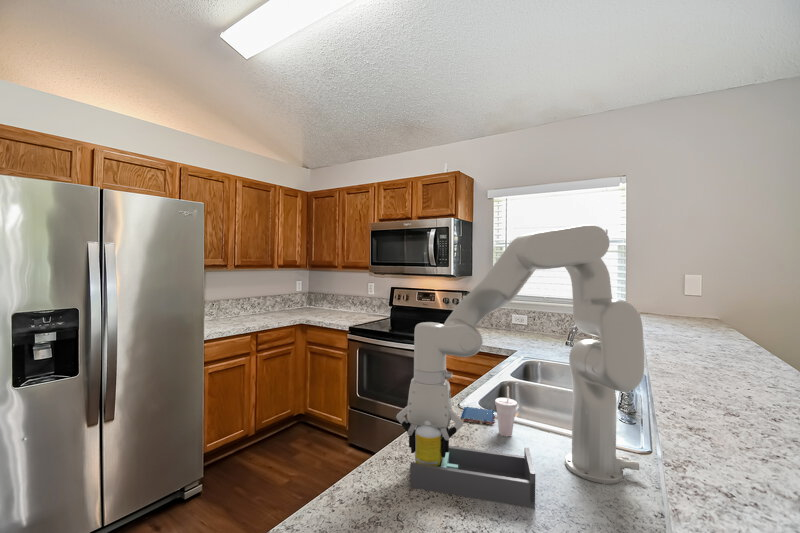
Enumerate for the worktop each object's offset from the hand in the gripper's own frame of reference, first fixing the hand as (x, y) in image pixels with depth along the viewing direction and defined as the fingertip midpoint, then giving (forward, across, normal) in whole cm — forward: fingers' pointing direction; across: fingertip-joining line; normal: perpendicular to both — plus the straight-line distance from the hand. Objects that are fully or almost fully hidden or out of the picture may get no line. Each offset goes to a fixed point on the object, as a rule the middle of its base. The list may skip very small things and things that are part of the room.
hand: (428, 451), depth 82 cm
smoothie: (+6, -19, -28) cm, 34 cm away
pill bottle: (+3, 0, 0) cm, 3 cm away
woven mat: (+6, -11, -38) cm, 40 cm away
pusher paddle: (+4, -5, 0) cm, 7 cm away
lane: (+6, -10, 0) cm, 11 cm away
